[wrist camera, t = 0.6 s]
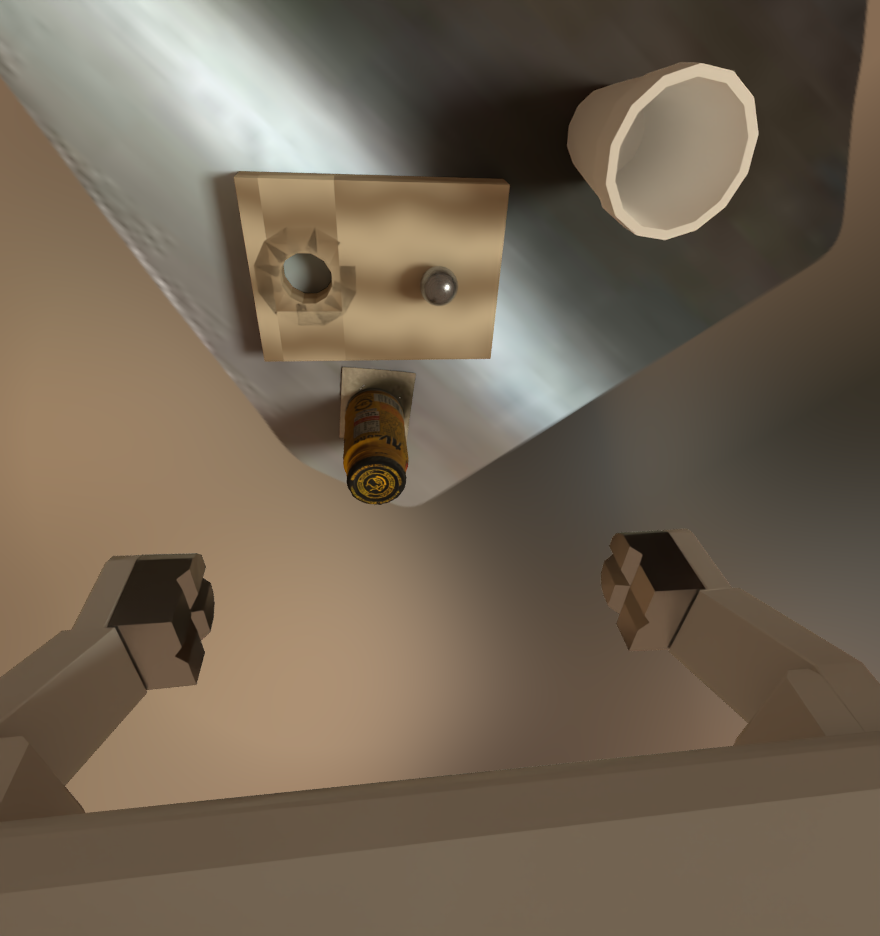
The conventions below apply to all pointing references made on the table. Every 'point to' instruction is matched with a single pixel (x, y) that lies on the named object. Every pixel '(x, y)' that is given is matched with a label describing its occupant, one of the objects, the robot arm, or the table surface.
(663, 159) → the foam cup
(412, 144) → the table surface
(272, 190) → the wooden board
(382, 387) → the condiment
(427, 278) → the ball
